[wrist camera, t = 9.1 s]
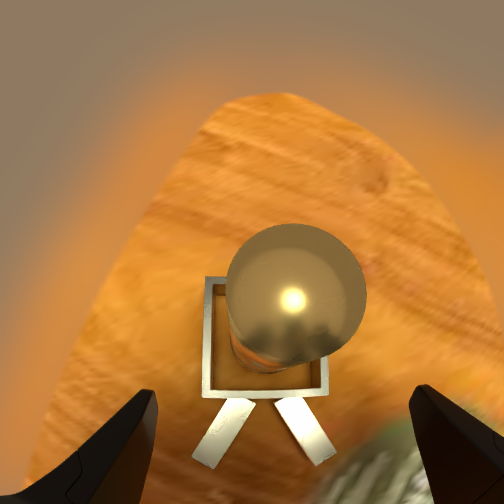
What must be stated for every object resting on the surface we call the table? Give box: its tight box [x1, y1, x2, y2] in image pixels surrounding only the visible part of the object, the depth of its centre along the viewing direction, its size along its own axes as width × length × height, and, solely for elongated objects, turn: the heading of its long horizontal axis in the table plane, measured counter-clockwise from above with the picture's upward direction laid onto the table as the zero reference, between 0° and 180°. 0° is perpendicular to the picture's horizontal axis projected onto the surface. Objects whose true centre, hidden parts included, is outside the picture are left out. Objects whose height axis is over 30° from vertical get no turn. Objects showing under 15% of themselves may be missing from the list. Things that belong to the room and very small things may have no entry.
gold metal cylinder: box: [225, 224, 367, 374], centre depth 13 cm, size 4×4×11 cm
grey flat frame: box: [191, 276, 337, 469], centre depth 16 cm, size 11×8×2 cm
